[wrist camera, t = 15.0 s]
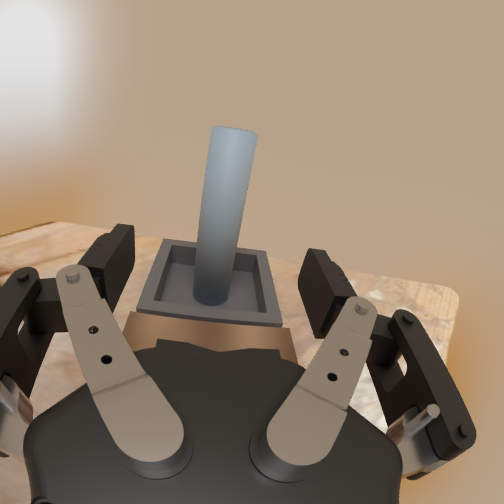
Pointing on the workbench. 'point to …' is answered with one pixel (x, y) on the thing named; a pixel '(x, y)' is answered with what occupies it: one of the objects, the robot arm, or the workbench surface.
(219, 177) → the dowel
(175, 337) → the bore block
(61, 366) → the workbench surface
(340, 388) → the robot arm
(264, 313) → the tray
